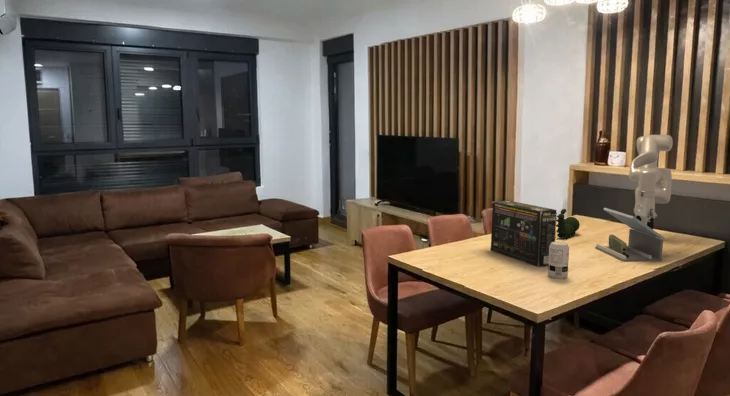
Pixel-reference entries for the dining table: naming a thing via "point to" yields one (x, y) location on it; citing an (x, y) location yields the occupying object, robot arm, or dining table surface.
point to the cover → (633, 223)
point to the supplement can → (558, 260)
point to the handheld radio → (618, 245)
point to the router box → (523, 231)
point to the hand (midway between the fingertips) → (643, 227)
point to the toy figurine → (566, 225)
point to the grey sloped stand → (637, 248)
